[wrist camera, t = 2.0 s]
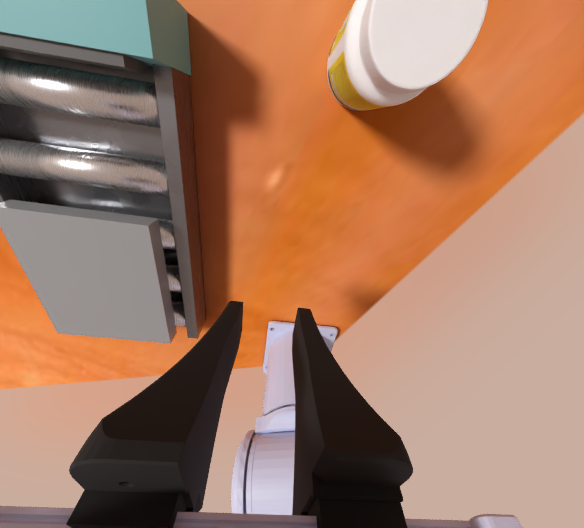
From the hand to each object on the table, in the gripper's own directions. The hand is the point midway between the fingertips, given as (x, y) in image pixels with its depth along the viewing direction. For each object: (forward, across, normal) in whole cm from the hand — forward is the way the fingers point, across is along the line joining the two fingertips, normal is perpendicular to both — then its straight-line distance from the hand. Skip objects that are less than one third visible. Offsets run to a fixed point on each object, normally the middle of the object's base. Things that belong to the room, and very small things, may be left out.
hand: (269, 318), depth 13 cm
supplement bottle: (+11, -4, -12) cm, 17 cm away
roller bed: (+10, +14, 0) cm, 17 cm away
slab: (+7, +14, +4) cm, 16 cm away
